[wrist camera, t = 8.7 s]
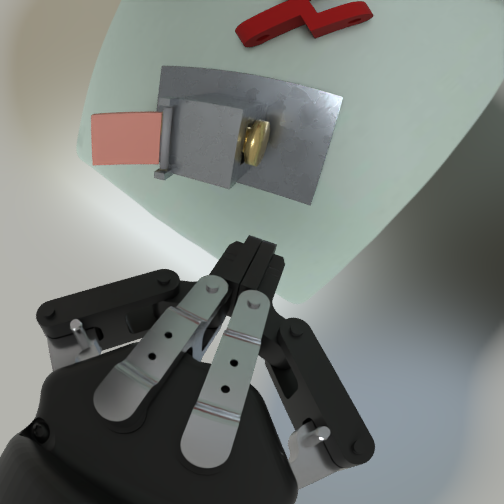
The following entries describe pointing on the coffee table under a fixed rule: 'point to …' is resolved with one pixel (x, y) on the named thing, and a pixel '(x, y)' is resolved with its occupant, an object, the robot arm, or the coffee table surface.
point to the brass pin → (254, 142)
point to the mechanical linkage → (300, 20)
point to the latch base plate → (235, 125)
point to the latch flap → (131, 137)
